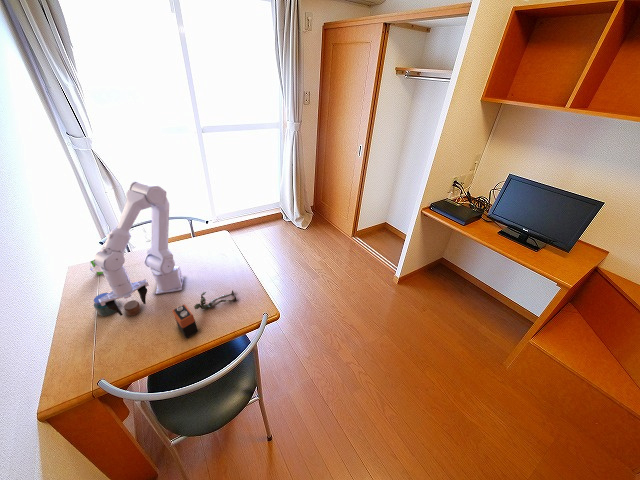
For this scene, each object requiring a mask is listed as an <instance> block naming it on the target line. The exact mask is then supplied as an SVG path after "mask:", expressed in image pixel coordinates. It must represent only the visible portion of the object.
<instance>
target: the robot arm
mask: <svg viewBox="0 0 640 480" xmlns="http://www.w3.org/2000/svg"><path fill="white" fill-rule="evenodd" d="M167 197H168V196H167V191H166V190H165V189H164V188H163V187H161V186H159V185H157V184H151V183H148V182H146V181H143V180H134V181H133V182H131V183H130V185H129V187H128V190H127V191H126V201H125V204H124V207H123V210H122V212H121V215H120V218H119V221H118V223H117V226H116V227H115V228H113V229H110V231H109V233H106V236H105V237H106V240H105V241H104V243H103V246H102V248H101V249H100V251H98V252H96V254H95V255H94V259H93V260H95V261H94V262H93V263H94V264H95V265H97V266H100V267H101V269H102V271H103V276H104V278H105V279H106V282H107V283H108V285H109V287H110V289H111V291H110V292H108V293H109V294H107V295H106V296H104V297H102V298H100V299H98V300H99V302H100V304H101V305H102V306H104V305H107V307H108V308H109V309H112V310H114V311H115V312H116V313H117V314H118V315H119V316H121V317H122V316H123V312H122V311H121V309H120V307H119V308H118V306H117V305H116V303H115V301H114V300H115V299H116V300H119V299H123V298H124V299H128V298H130V297H132V294H134V293H135V292H137V293H138V295H139V297H140V300H141V302H142V304H143V305H146V304H147V302H146V299H147V293H148V288H147V287H149V286H150V285H149V282H148V281H147V279H142V280H138V281H135V282H132V281H131V278H130V277H129V274H128V272H127V271H126V268H125V266H124V264H125V262H126V259H125V251H126V249H127V247H128V244H129V243H130V240H131V237H132V235H131V233H130V230H131V228H132V227H133V225H134V223H135V221H136V220H137V217H138V216H139V214H140V213H141V211H143V210H146V209H149V208H151V234H150V235H151V237H150V238H151V239H150V240H151V241H150V243H151V245H150V248H149V249H147V250H146V255H145V257H144V265H145V266H146V267H147V268H150V271H151V274H152V276H153V278H154V281H155V284H156V290H155V294H156V295H159V294H165V293H172V292H178V291H182V289H183V285H184V276H183V273H182V270H181V267H180V266H179V265H178V266H175V265H176V262H175V260H174V254H173V252H172V251H171V250H170V249H169V230H170V229H169V227H170V221H169V220H170V202H169V200H168V198H167Z"/></svg>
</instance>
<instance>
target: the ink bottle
mask: <svg viewBox="0 0 640 480" xmlns="http://www.w3.org/2000/svg"><path fill="white" fill-rule="evenodd" d="M109 293H110V292H103V293H100V294H97V295H96V296H95V297H94V298H93V308H94V309H95V312H96V313H97V314H98V315H99V316H101V317H106V316H110V315H113V314H114V313H115V312H116V311H114V310H112V309H109V308H108V307H107V305H104V306H102V305H101V304H100V302H99V300H98V299H100V298H102V297H104V296H106V295H107V294H109ZM114 301H115V303H116V305H117V306H118V308H119V309H120V304H119V302H118V301H117V299H115V300H114Z"/></svg>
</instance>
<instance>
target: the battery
mask: <svg viewBox="0 0 640 480" xmlns="http://www.w3.org/2000/svg"><path fill="white" fill-rule="evenodd" d="M172 314H173V316H174V320H175V323H176V325H177V327H178V329H179V330H180V332H181V333H182V335H183V336H184V338H185V339H188V338H189V337H192V336H193V335H195V334H196V333H198V332H199V329H198V326H197V322H196V320H195V317H194V314H193V312H192V311H191V310H190V309H189V307H188V306H187V305H186V304H185V303H184V304H182V305H178V306H177V307H176V308H174V309H172Z"/></svg>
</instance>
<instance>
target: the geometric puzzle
mask: <svg viewBox="0 0 640 480" xmlns="http://www.w3.org/2000/svg"><path fill="white" fill-rule="evenodd" d="M94 261H95V260H94V259H93V260H90V261H89V265H92V266H90V269H89V270H90V272H93V273H94V274H96V275H97V276H100V275H104V273H103V271H102V269H101V267H100V266H97V265H95V264H94V263H93V262H94Z"/></svg>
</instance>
